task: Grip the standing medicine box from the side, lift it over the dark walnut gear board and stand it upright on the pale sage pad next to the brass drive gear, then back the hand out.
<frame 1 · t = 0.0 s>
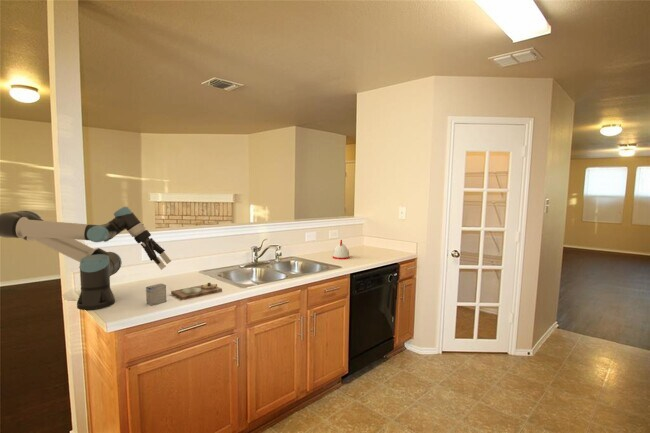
hand: (166, 265, 185), 15 cm above the worktop, tool tilted 35°, fingers open, 13 cm apart
gear board: (197, 292, 188), on the worktop
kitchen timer: (340, 258, 289), on the worktop
medicine box: (156, 303, 171), on the worktop
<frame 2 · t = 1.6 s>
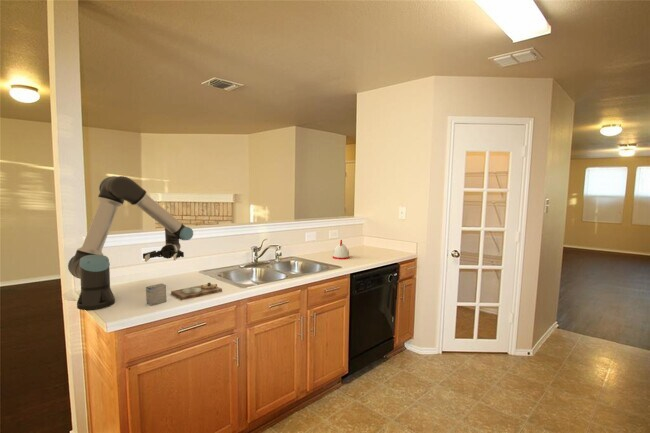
hand: (160, 258, 178), 20 cm above the worktop, tool horizontal, fingers open, 13 cm apart
nothing on the worktop moved.
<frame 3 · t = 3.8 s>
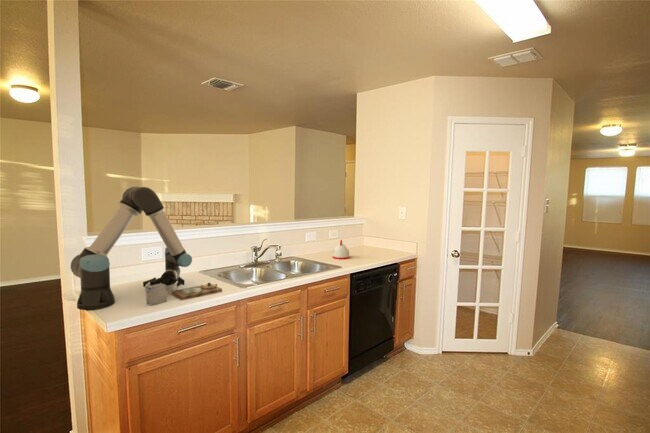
hand: (160, 287, 177), 6 cm above the worktop, tool horizontal, fingers open, 13 cm apart
nothing on the worktop moved.
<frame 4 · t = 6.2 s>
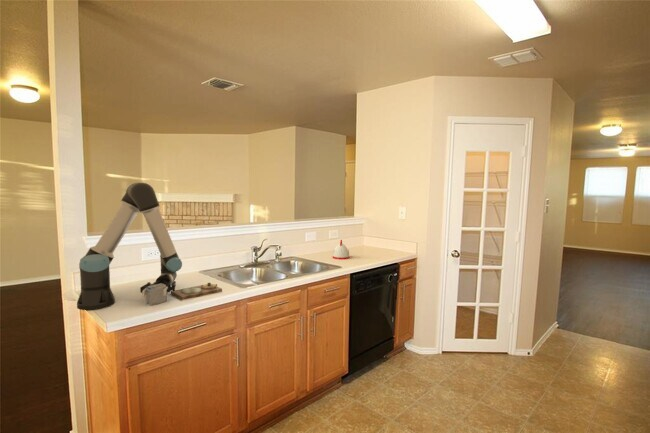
hand: (153, 293, 166), 6 cm above the worktop, tool horizontal, fingers closed on medicine box, 8 cm apart
medicine box: (156, 303, 171), on the worktop, touching gripper
everything else where it was.
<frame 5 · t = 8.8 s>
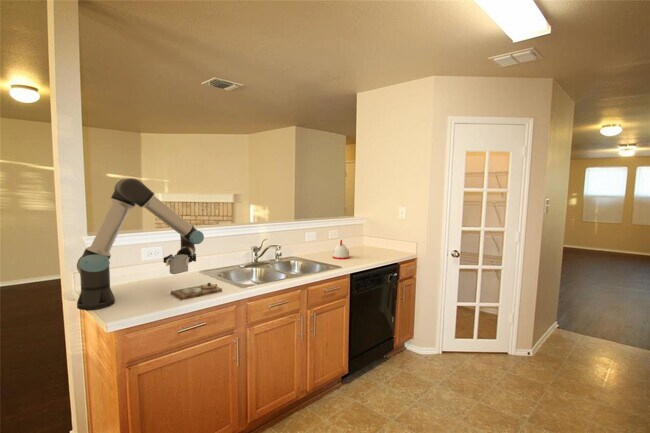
hand: (177, 262, 174), 19 cm above the worktop, tool horizontal, fingers closed on medicine box, 8 cm apart
medicine box: (179, 272, 179), point 13 cm above the worktop, touching gripper
everything else where it was.
when the fingers open (9 cm above the worktop, at t = 11.4 s): medicine box drops 1 cm, resting on gear board.
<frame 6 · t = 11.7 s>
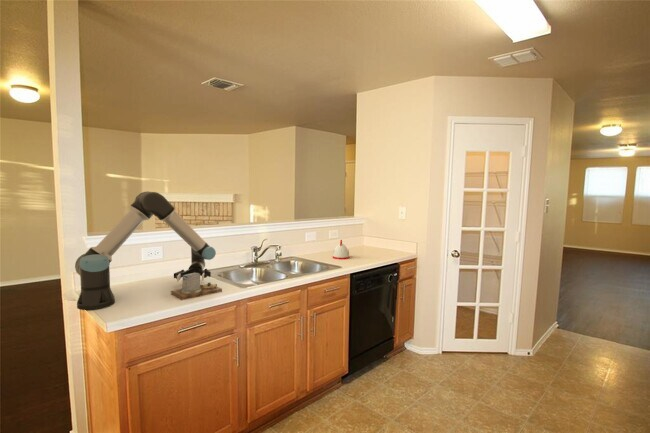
hand: (190, 278, 182), 9 cm above the worktop, tool horizontal, fingers open, 11 cm apart
medicine box: (191, 290, 186), point 2 cm above the worktop, touching gear board
everything else where it was.
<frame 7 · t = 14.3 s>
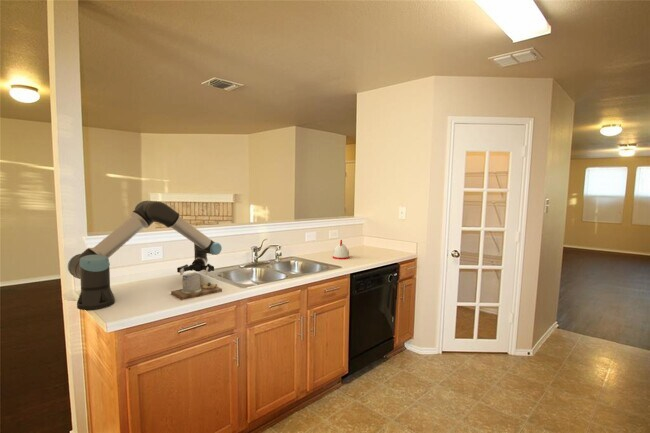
hand: (193, 272, 195), 9 cm above the worktop, tool horizontal, fingers open, 13 cm apart
nothing on the worktop moved.
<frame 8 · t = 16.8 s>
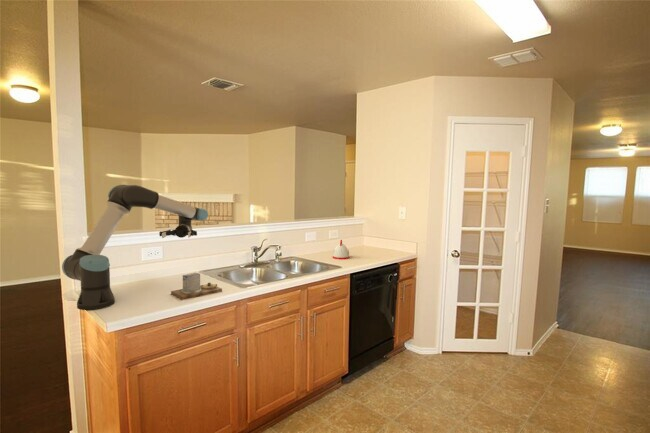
hand: (175, 235, 194), 30 cm above the worktop, tool horizontal, fingers open, 13 cm apart
nothing on the worktop moved.
at the end: medicine box inside the target area (0.1 cm from its centre), point 1.7 cm above the worktop; medicine box tilted 0°; the gripper is holding nothing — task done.
